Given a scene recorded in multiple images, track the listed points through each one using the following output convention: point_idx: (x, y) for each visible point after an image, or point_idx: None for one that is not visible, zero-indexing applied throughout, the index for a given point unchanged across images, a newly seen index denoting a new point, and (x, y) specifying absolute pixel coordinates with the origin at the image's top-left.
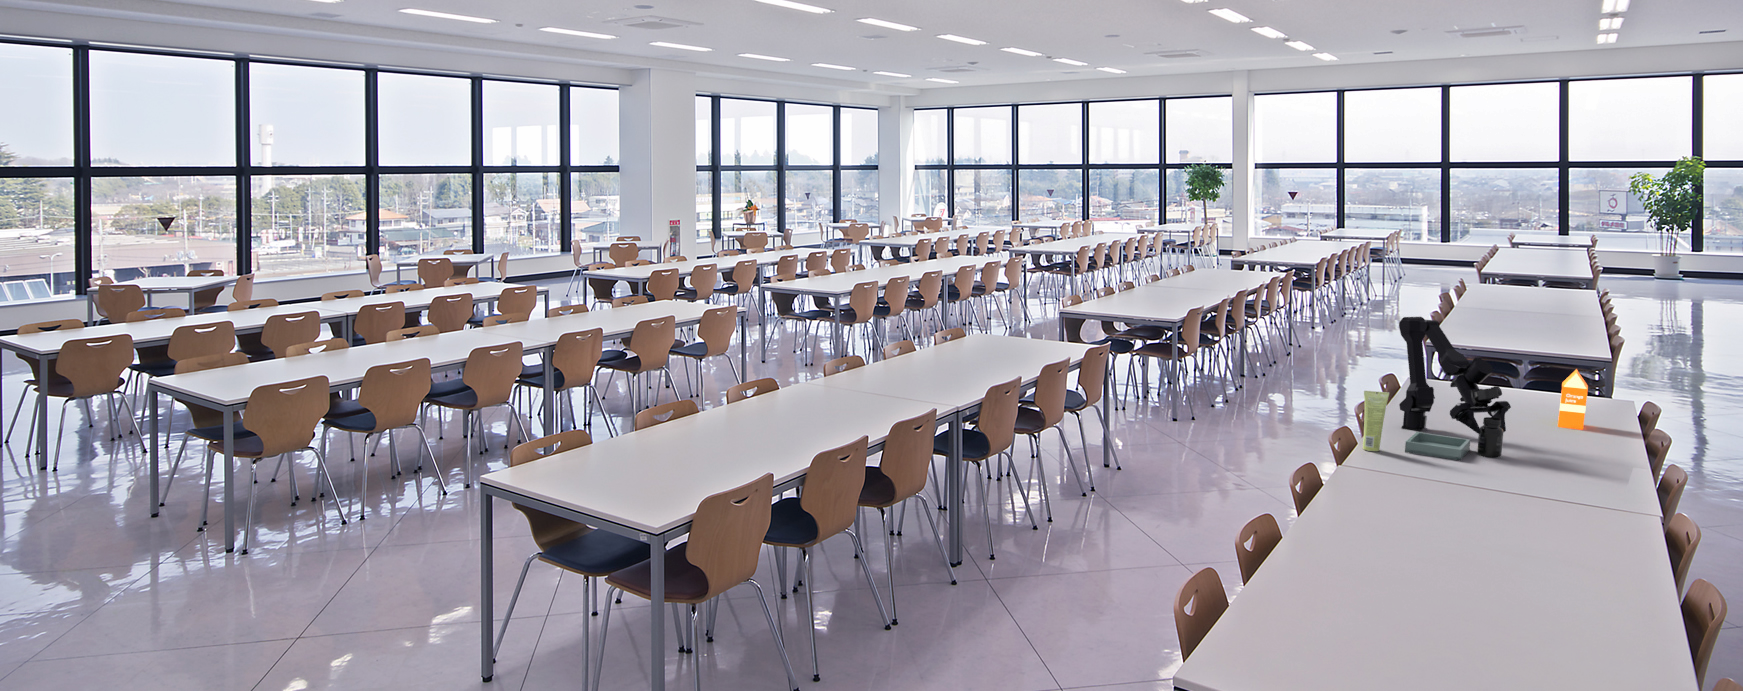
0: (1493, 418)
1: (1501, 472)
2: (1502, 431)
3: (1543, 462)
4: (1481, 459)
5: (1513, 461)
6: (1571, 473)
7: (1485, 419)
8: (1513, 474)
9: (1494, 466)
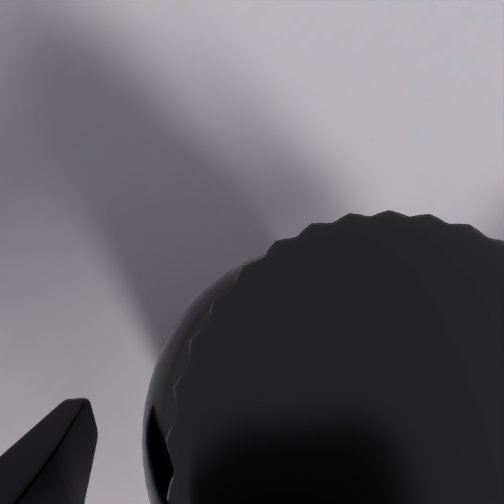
0: (354, 478)
1: (443, 61)
2: (240, 265)
3: (35, 184)
4: None
5: (217, 229)
6: (86, 6)
7: None
8: (400, 29)
9: (418, 152)
